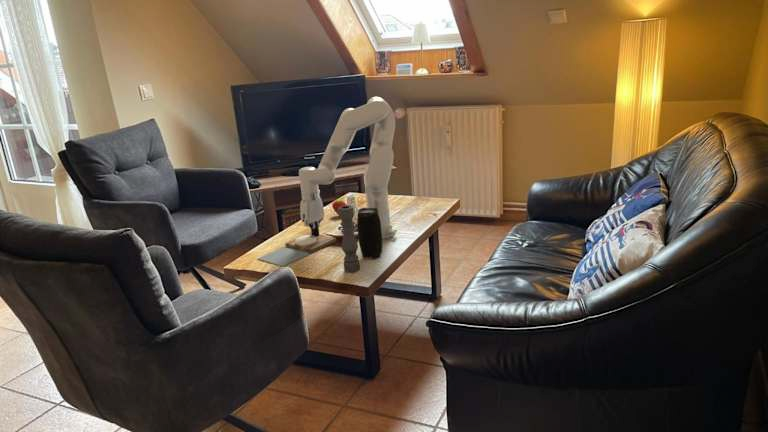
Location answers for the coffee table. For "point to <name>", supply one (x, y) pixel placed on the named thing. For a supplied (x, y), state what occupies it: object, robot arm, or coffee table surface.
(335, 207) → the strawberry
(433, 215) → the coffee table surface
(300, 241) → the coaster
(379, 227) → the portable speaker
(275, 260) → the mat
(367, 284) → the coffee table surface
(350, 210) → the candle holder
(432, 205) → the coffee table surface
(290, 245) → the riser
